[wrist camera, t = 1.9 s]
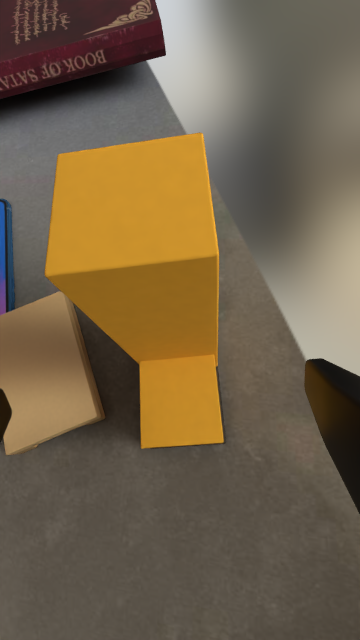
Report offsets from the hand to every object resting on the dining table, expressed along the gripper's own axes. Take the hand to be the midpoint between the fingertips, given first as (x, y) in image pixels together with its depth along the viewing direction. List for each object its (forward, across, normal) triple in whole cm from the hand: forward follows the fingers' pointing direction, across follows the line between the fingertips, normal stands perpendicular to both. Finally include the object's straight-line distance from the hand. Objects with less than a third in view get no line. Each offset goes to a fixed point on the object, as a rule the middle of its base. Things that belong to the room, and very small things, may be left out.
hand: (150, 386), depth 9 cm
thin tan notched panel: (+11, +10, +6) cm, 16 cm away
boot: (+10, 0, +6) cm, 12 cm away
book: (+34, +14, -25) cm, 44 cm away
